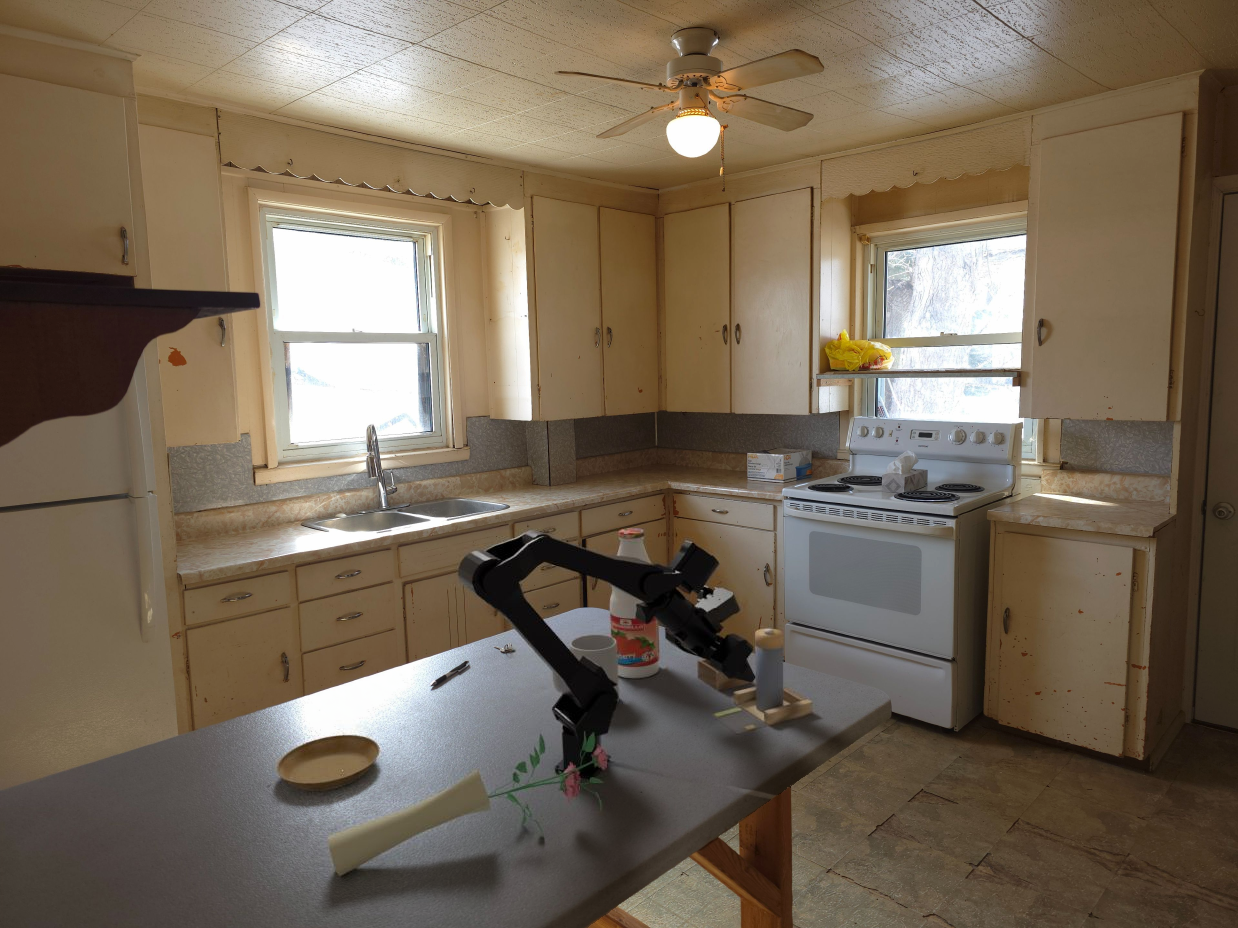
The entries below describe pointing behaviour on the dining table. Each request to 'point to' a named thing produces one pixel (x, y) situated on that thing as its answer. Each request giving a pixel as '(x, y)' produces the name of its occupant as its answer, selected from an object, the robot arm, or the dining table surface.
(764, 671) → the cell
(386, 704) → the dining table surface
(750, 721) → the pad
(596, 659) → the mug
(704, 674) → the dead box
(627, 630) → the fruit juice
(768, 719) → the light wooden tray
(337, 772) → the plant saucer
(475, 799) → the flower vase
